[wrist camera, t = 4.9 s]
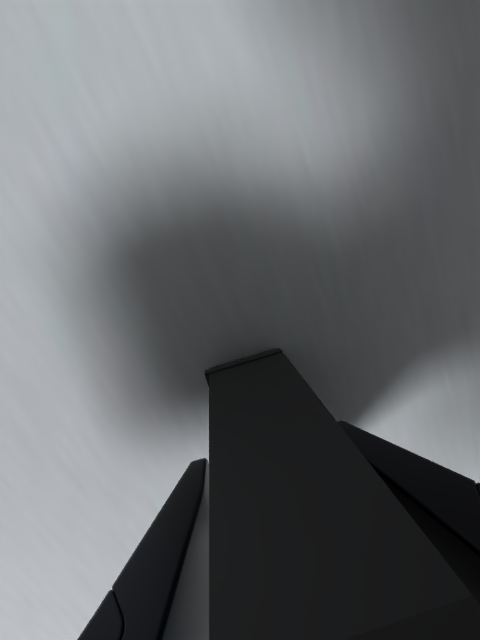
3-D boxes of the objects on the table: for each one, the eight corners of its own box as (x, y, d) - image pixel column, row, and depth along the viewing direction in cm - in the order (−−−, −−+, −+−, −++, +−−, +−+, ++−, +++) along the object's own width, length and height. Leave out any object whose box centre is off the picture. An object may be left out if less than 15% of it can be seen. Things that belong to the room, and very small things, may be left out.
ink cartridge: (204, 363, 9) (183, 985, 1) (276, 342, 9) (647, 811, 1) (245, 494, 10) (364, 1250, 2) (309, 475, 10) (618, 1143, 3)
